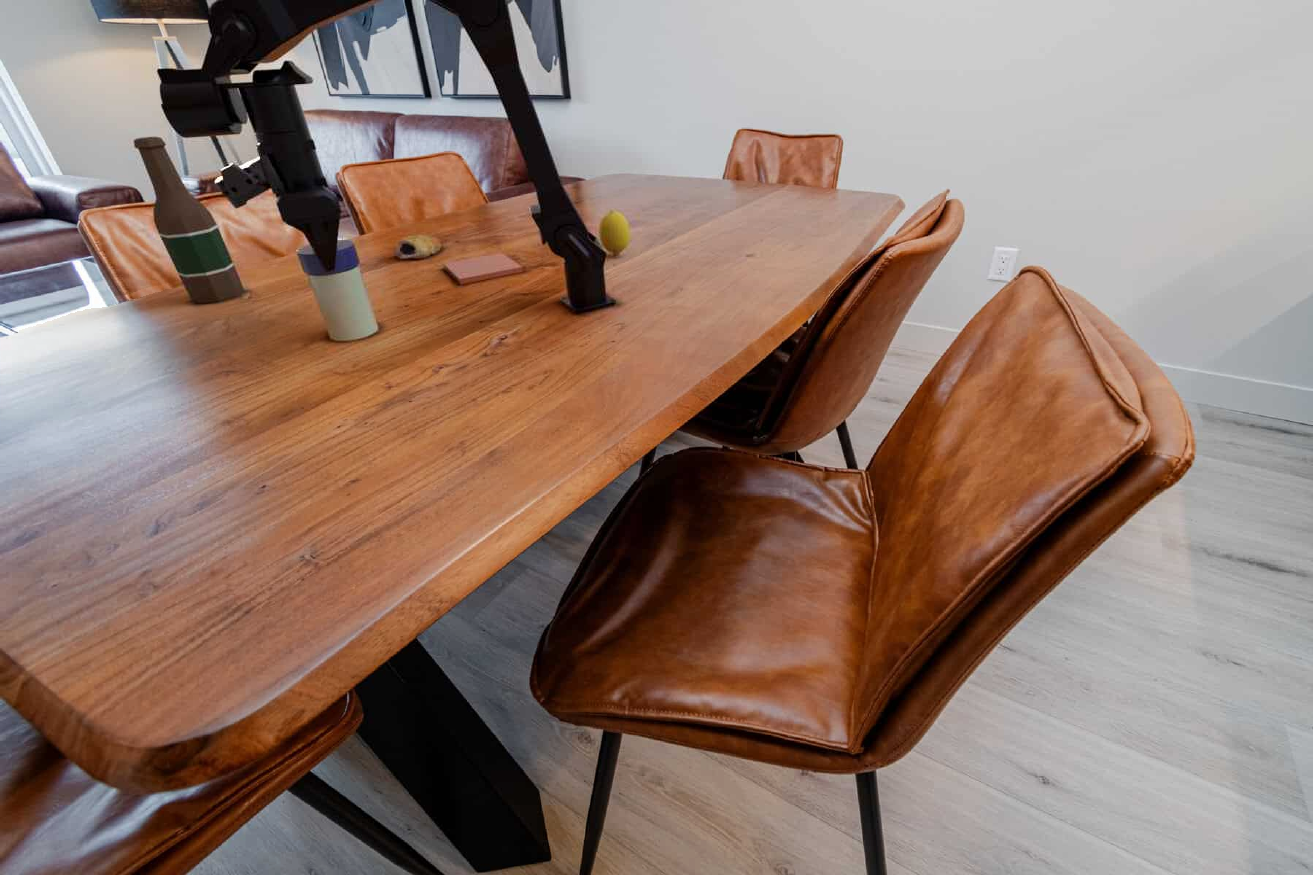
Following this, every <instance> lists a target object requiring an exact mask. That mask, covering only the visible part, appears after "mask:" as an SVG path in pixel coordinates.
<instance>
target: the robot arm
mask: <svg viewBox="0 0 1313 875" xmlns="http://www.w3.org/2000/svg"><path fill="white" fill-rule="evenodd" d="M383 1H384V0H216V1H214V2H213V3H211V5H210V6H209V8H208V14H207V15H208V16H207V25H208V30H209V34H210V35H211V36H210V38H209V42H208V46H207V49H206V52H205V55H204V59H203V62H202V65H201V68H191V69H190V68H188V69H183V68H179V67H178V68H177V67H169V68H168V67H165V68H164V67H163V68H157V69H156V73H157V76H158V78H159V80H160V84H159V95H160V100H161V103H160V107H161V109H162V112H163V114H164V117H165V118H166V120H167V122H168V123H169V125H170V127H171V128H172V129H173V131H174V132H175V133H177V135H179V136H180V137H181V138H184V139H191V138H204V137H205V138H206V137H220V136H233V135H234V136H236V135H240V134H241V133H242V131H243V125H246V124H247V123H248V119H249V123H250V125H251V128H252V131H253V134H254V136H255V139H256V142H257V145H256V146H255V147H256V152H257V153H258V157H256V158H253V159H251V160H250V161H247V162H246V163H244V164H242V165H240V166H239V165H237V164H236V163H234V162H231V163H230V165H228V166H226V167H224V168H221V169H220V173H221V176H219V177H217V178H216V179H215V180H214V185H215V186H216V187H217V189H218V190H219V191H220V192H221V194H222V196H223V197H225V198H226V199H227V200H228V202H229V203H230V204H231V205H232V206H233V208H234V209H239V208H241V207H244V206H245V205H247V204H248V201H249V202H250V200H252V199H254V198H256V197H258V196H261V194H263V193H265V192H267V191H269V190H271V192H272V194H273V195H275V197H276V198H275V204H276V207H277V210H278V212H279V215H280V217H281V220H282V222H283V223H285V224H286V225H287V226H289V227H292V228H294V229H295V230H298V231H299V232H301V233H302V234H303V235H304V237H305V238H306V240H307V242H308V244H309V245H311V247H312V249H313V250H314V252H315V254H316V255H317V257H318V259H319V261H320V262H321V264H322V266H323V267H324V269H325V271H332V270H335V263H336V252H337V241H338V240H339V230H340V222H341V220H340V219H341V216H342V215H341V214H343V211H342V209H341V205H340V203H339V202H340V201H339V199H338V196H337V194H335V191H332V190H331V189H329V188H328V187H329V184H328V182H327V178H326V176H325V175H324V172H323V169H322V166H321V163H320V160H319V157H318V153H317V147H316V144H315V141H314V139H313V137H312V135H311V131H310V129H309V126H308V122H307V119H306V117H305V113H304V111H303V107H302V104H301V101H300V97H299V95H298V91H297V88H296V86H298V85H310V84H313V82H314V79H313V77H312V76H310V75H309V74H307V73H306V72H304V71H303V70H302V69H300V68H299V66H297V65H296V63H294V61H292V60H284V61H283V63H282V65H281V66H280V68H270V69H269V68H268V69H256V67H258V66H259V65H260V64H271V63H274V62H276V61H278V60H280V59H281V58H282V57H284V56H285V55H286V54H287V53H289V52H290V51H292V50H294V48H295V47H297V46H298V45H299V44H300V43H302V42H303V41H304V39H306V38H307V37H308V36H309V35H311V34H312V33H313V32H314V31H316V30H317V29H319V28H322V27H324V26H326V25H329V24H332V23H333V22H337V21H338V20H340V19H343V18H345V17H348V16H350V15H352V14H355V13H357V12H359V11H361V10H364V9H367V8H369V7H371V6H373V5H376V4H378V3H381V2H383ZM428 1H429V2H431V3H433V4H434V5H436V6H438V7H440V8H442V9H443V10H445V11H447V12H449V13H451V14H452V15H455V16H456V17H458V20H459V22H460V24H461V26H462V27H463V29H464V30H465V32H466V34H467V36H468V37H469V39H470V41H471V43H472V44H473V46H474V48H475V50H476V52H477V54H478V55H479V57H480V59H481V60H482V62H483V64H484V66H485V68H486V69H487V71H488V72H489V74H490V77H491V78H492V82H493V84H494V86H495V88H496V91H497V93H498V96H499V99H500V101H501V104H502V107H503V109H504V111H505V114H506V116H507V119H508V122H509V125H510V127H511V130H512V132H513V135H514V138H515V140H516V142H517V143H516V144H517V145H518V148H519V150H520V153H521V156H522V159H523V161H524V163H525V166H526V169H527V171H528V174H529V177H530V179H531V182H532V185H533V187H534V189H535V195H536V200H537V204H532V205H529V211H530V212H529V213H530V216H531V218H532V220H533V221H534V224H535V225H536V227H537V228H538V233H539V237H540V242H541V244H542V245H543V246H545V245H546V244H547V245H548V248H549V249H550V252H552V253H553V254H554V255H555V256H558V257H559V258H561V259H563V260H564V262H563V271H564V277H565V279H564V280H565V287H566V294H567V296H562V297H560V298H559V302H560V303H562V304H563V305H564V306H566V307H567V308H568V309H570V310H571V311H573V312H574V313H576V314H579V313H583V312H588V311H592V310H596V309H600V308H601V309H602V308H605V307H609V306H613V305H616V304H617V300H616V299H614V298H613V297H611V296H610V295H609V294H607V288H606V287H607V286H606V277H605V264H606V259H607V256H608V255H607V252H606V249H605V248H604V247H603V245H602V244H601V241H600V239H598V238H597V237H596V236H595V235H594V234H593V233H592V232H590V231H589V230H588V228H587V226H586V224H585V222H584V220H583V218H582V216H581V215H580V212H578V210H577V208H576V206H575V204H574V203H573V200H572V199H571V197H570V195H569V194H568V192H567V190H566V188H565V187H564V185H563V183H562V180H561V177H560V175H559V171H558V169H557V166H556V163H555V161H554V158H553V155H552V152H551V149H550V147H549V144H548V141H547V139H546V136H545V135H546V134H545V133H544V130H543V127H542V124H541V122H540V118H539V116H538V113H537V111H536V108H535V105H534V102H533V99H532V97H531V94H530V91H529V88H528V86H527V83H526V80H525V77H524V74H523V71H522V69H521V66H520V65H521V64H520V60H519V55H518V50H517V43H516V39H515V34H514V27H513V23H512V19H511V18H512V17H511V14H510V9H509V4H508V0H428ZM251 73H252V75H251V77H252V78H251V80H252V81H244V82H233V81H232V79H231V76H241V75H249V74H251Z"/></svg>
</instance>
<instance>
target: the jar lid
mask: <svg viewBox="0 0 1313 875" xmlns="http://www.w3.org/2000/svg"><path fill="white" fill-rule="evenodd" d="M295 252H296V254H297V258H298V261H299V263H300V265H301V268H302V272H303V273H305V274H306V275H307V274H312V275H323V274H331V273H337V272H341V271H345V270H349V269H351V268H354V267H356V266H357V265H359V266H360V264H361V261H360V258H359V255H358V251H357V248H356V245H355V242H354V241H353V240H349V239H348V240H347V239H338V241H337V252H336V263H335V270H332V271H325V269H324V267H323V266H322V264H321V262H320V261H319V259H318V257H317V255H316V254H315V252H314V250H313V249H312V247H311V245H310V244H306V245H304V246H301V247H299V248H298V249H296V251H295Z"/></svg>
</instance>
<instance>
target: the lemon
mask: <svg viewBox="0 0 1313 875" xmlns="http://www.w3.org/2000/svg"><path fill="white" fill-rule="evenodd" d="M598 236H599V242H600V244H601V245H602V247H603V249H604V250H605V251H608V252H609V253H612V255H613V256H617V257H618V256H619V255H620V253H621V252H623V251H624V250H626V248H627V247H628V246H629V243H630V239H631V231H630V226H629V223H628V221H627V219H626V217H625V216H624V215H623V214H621V213H620V212H617V211H616V210H614V209H613V210H612V209H611V210H610V211H609V212H608V213H606V214H605V215H604V216H602V218H601V220H600V222H599V228H598Z"/></svg>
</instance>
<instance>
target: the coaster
mask: <svg viewBox="0 0 1313 875" xmlns="http://www.w3.org/2000/svg"><path fill="white" fill-rule="evenodd" d="M443 269H444V270H445V271H446V272H447V273H448V274H449V275H450V276H451V277H452V278H453V279H454V280H455V281H456V282H457V283H458V284H459V285H467V284H470V283H476V282H481V281H486V280H492V279H495V278H501V277H506V276H510V275H515V274H519V273H523V272H524V270H523V266H522V265H521V264H520V263H518V262H516V261H515V260H513V259H512V258H510V256H507V255H506V254H505V253H503V252H499V253H494V254H489V255H483V256H478V257H472V258H467V259H462V260H455V261H451V262H446V263H443Z"/></svg>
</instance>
